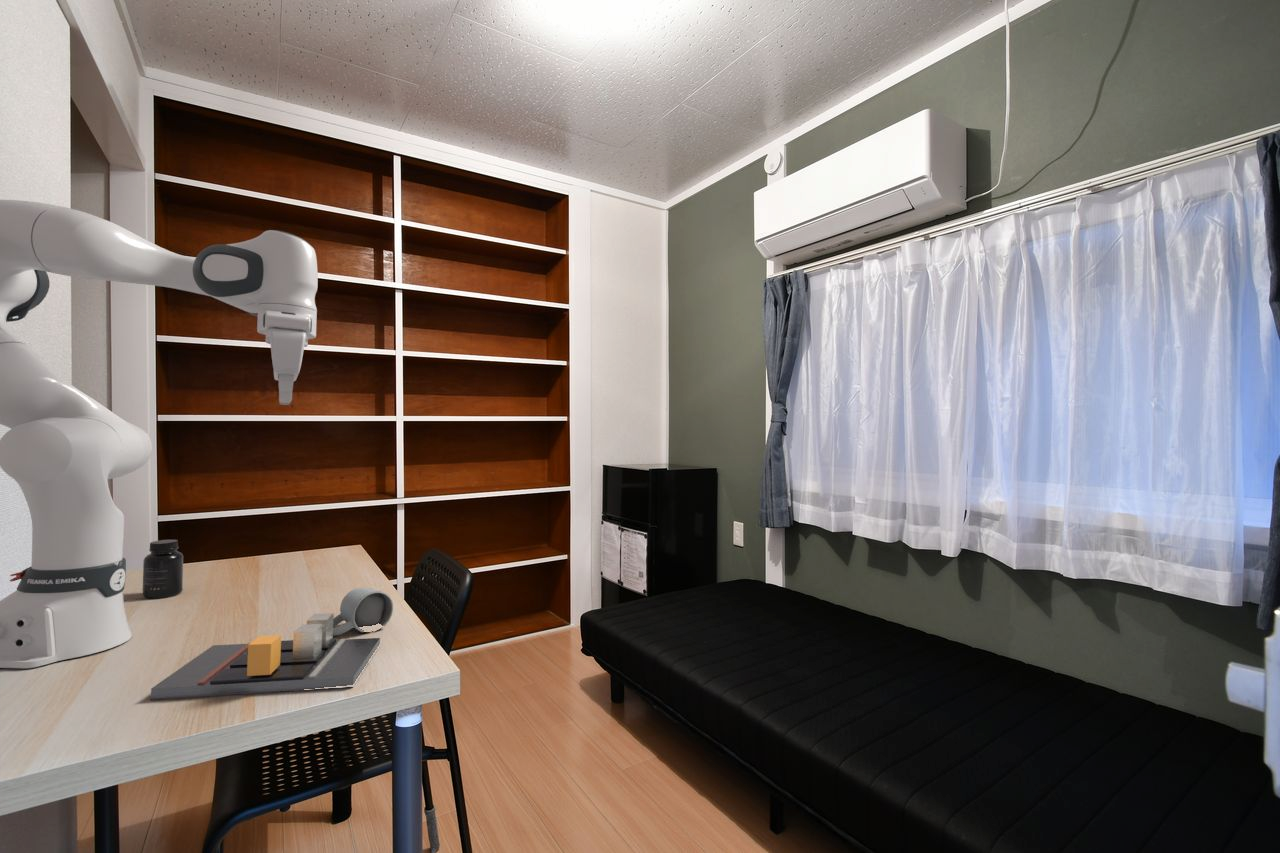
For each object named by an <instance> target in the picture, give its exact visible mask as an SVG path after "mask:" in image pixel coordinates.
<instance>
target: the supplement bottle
mask: <svg viewBox="0 0 1280 853" xmlns="http://www.w3.org/2000/svg"><path fill="white" fill-rule="evenodd" d="M178 549H179V540H178V539H161V540H159V539H158V540H155V541H151V542H150V543H149V552H150V553H149V554H147V555H146V556H145V557H144V558H143V564H142V568H143V569H142V597H143V598H144V599H147V600H159V599H166V598H171V597H174V596H177V595H180V594H181V593H182V592H183V585H184V584H183V583H184V582H183V581H184V555H183V553H182V552H180V551H178Z"/></svg>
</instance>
